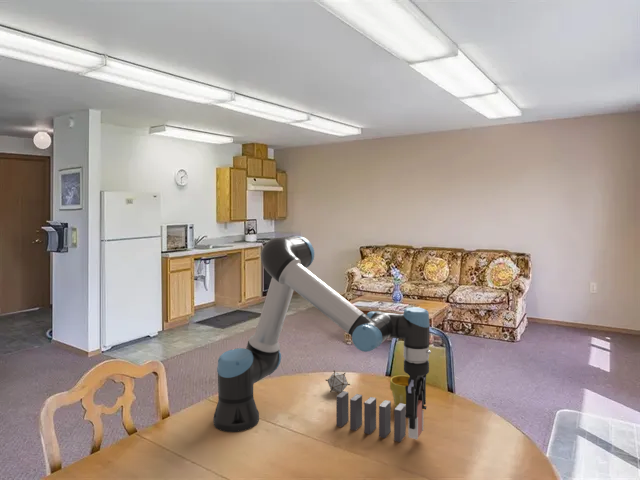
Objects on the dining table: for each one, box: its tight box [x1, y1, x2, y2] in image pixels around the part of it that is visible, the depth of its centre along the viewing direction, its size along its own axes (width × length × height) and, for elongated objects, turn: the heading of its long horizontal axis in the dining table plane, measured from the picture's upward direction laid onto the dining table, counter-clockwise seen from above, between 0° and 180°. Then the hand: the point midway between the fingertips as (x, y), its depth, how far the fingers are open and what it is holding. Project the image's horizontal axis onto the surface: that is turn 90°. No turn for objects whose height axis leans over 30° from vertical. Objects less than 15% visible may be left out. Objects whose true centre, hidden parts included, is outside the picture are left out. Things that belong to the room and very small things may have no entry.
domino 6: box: [417, 400, 423, 438], centre depth 139 cm, size 2×5×10 cm, turn 151°
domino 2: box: [349, 393, 363, 432], centre depth 149 cm, size 2×5×10 cm, turn 151°
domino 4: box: [378, 399, 392, 439], centre depth 144 cm, size 2×5×10 cm, turn 151°
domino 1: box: [335, 390, 350, 428], centre depth 152 cm, size 2×5×10 cm, turn 151°
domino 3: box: [363, 396, 377, 435], centre depth 147 cm, size 2×5×10 cm, turn 151°
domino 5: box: [393, 403, 407, 443], centre depth 142 cm, size 2×5×10 cm, turn 151°
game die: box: [325, 370, 351, 394], centre depth 177 cm, size 9×8×10 cm
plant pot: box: [389, 374, 410, 408], centre depth 164 cm, size 10×10×10 cm
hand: (416, 433), depth 140 cm, fingers closed on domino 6, 5 cm apart
